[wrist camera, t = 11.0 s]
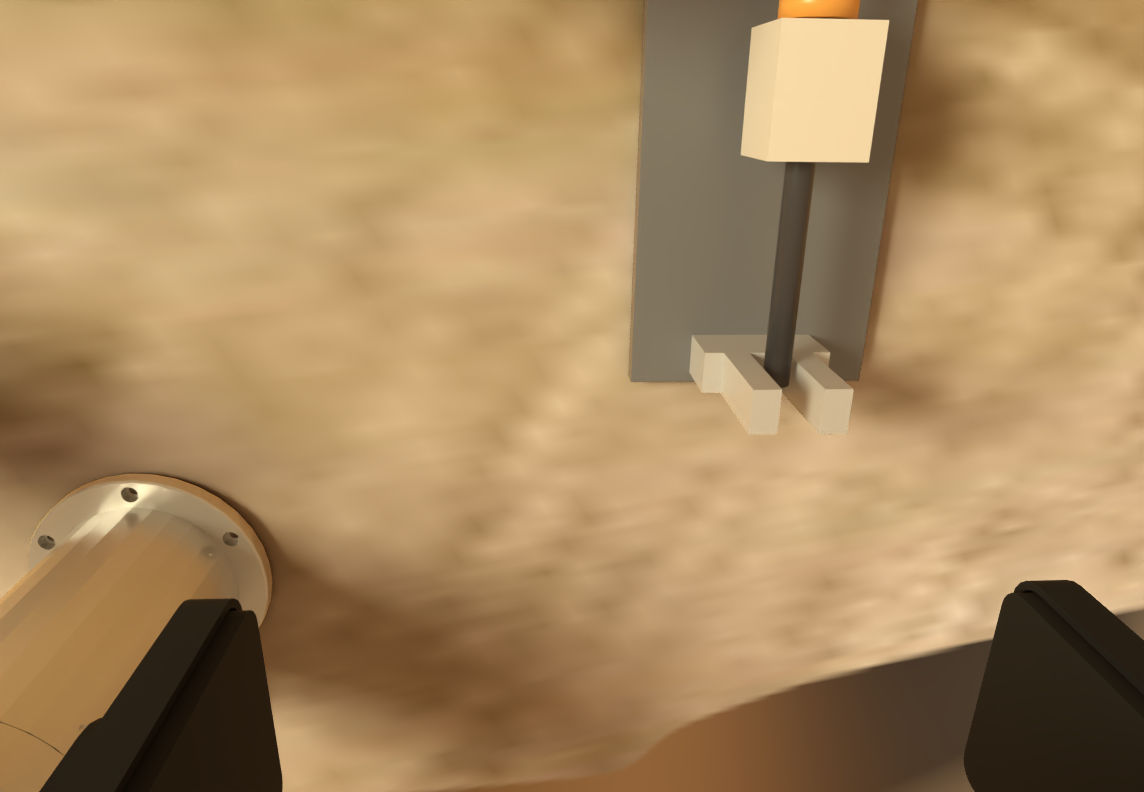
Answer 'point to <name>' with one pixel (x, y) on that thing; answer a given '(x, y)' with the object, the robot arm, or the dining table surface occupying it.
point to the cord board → (753, 221)
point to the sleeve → (813, 89)
